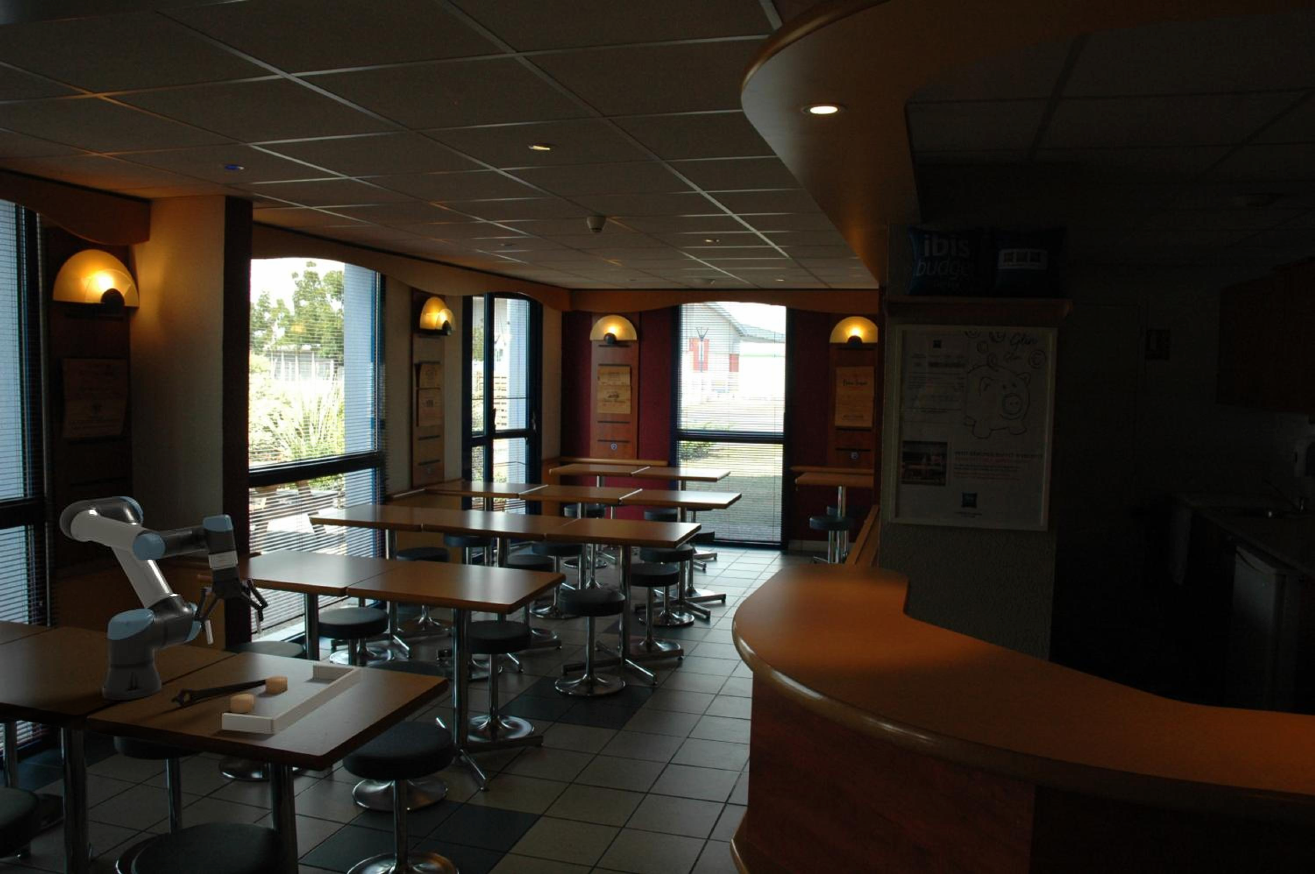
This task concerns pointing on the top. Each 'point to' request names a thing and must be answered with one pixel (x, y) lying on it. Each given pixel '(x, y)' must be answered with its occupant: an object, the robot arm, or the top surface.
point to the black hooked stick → (213, 692)
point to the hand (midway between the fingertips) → (235, 638)
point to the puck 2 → (276, 685)
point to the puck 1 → (242, 703)
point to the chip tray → (274, 725)
